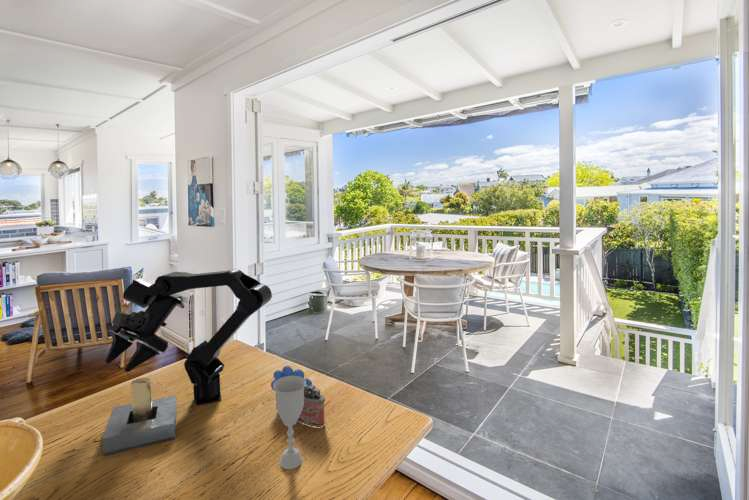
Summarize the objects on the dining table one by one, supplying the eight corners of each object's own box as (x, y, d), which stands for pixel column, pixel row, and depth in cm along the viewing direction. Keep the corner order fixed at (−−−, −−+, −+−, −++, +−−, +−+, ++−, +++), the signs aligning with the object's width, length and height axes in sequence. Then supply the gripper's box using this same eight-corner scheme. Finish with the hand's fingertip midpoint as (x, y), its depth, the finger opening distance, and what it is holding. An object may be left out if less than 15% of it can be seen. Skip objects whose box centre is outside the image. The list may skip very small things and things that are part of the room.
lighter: (327, 423, 96) (327, 386, 95) (320, 430, 93) (320, 392, 92) (301, 415, 100) (301, 379, 98) (293, 422, 97) (293, 385, 95)
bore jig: (176, 409, 102) (175, 395, 101) (175, 438, 89) (174, 423, 89) (114, 421, 95) (113, 407, 95) (103, 455, 83) (102, 438, 82)
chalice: (277, 450, 86) (276, 375, 83) (308, 449, 86) (307, 375, 84) (272, 473, 78) (270, 392, 76) (304, 472, 79) (304, 391, 77)
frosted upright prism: (157, 424, 94) (154, 378, 92) (144, 433, 90) (140, 386, 88) (143, 421, 95) (140, 376, 93) (130, 431, 91) (126, 384, 89)
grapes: (266, 415, 99) (265, 372, 98) (274, 402, 106) (273, 361, 104) (309, 417, 99) (309, 374, 97) (315, 403, 105) (314, 363, 104)
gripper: (114, 293, 103) (70, 345, 95) (153, 304, 94) (108, 362, 86) (145, 314, 111) (107, 363, 103) (185, 325, 102) (146, 380, 94)
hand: (116, 367), depth 96 cm, fingers open, 9 cm apart
